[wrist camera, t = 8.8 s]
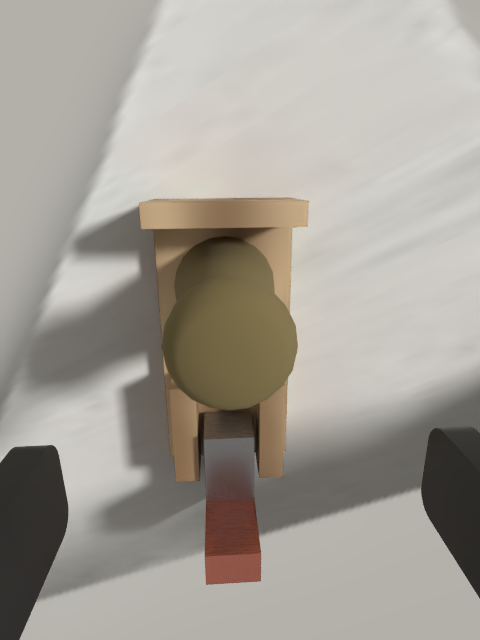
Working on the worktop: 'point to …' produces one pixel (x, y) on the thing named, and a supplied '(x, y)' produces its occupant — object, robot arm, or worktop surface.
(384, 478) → the worktop surface
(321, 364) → the worktop surface
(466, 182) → the worktop surface
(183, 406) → the light brown wooden holder
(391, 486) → the worktop surface
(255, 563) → the red grey l-shaped block
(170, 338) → the olive rounded piece
